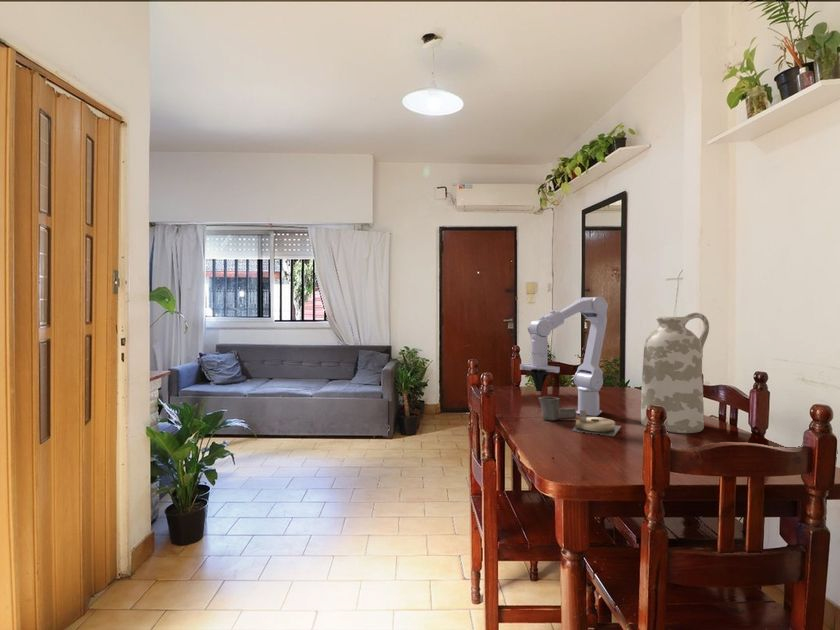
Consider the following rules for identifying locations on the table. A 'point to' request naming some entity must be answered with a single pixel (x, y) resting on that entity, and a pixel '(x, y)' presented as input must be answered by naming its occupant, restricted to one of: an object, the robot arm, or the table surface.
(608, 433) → the base plate
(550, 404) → the pipe
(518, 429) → the table surface
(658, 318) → the vase
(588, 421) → the beige low round piece
